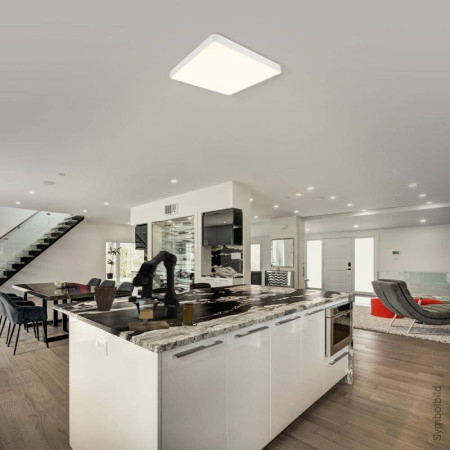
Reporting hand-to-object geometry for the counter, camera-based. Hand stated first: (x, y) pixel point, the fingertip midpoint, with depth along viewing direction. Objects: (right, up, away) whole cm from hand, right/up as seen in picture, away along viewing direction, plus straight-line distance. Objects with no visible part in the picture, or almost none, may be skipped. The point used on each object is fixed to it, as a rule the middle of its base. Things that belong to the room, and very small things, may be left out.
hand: (145, 315), depth 160 cm
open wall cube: (0, -1, 0) cm, 1 cm away
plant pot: (-41, -11, +45) cm, 62 cm away
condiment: (+22, -9, +10) cm, 26 cm away
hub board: (+1, -7, +1) cm, 7 cm away
